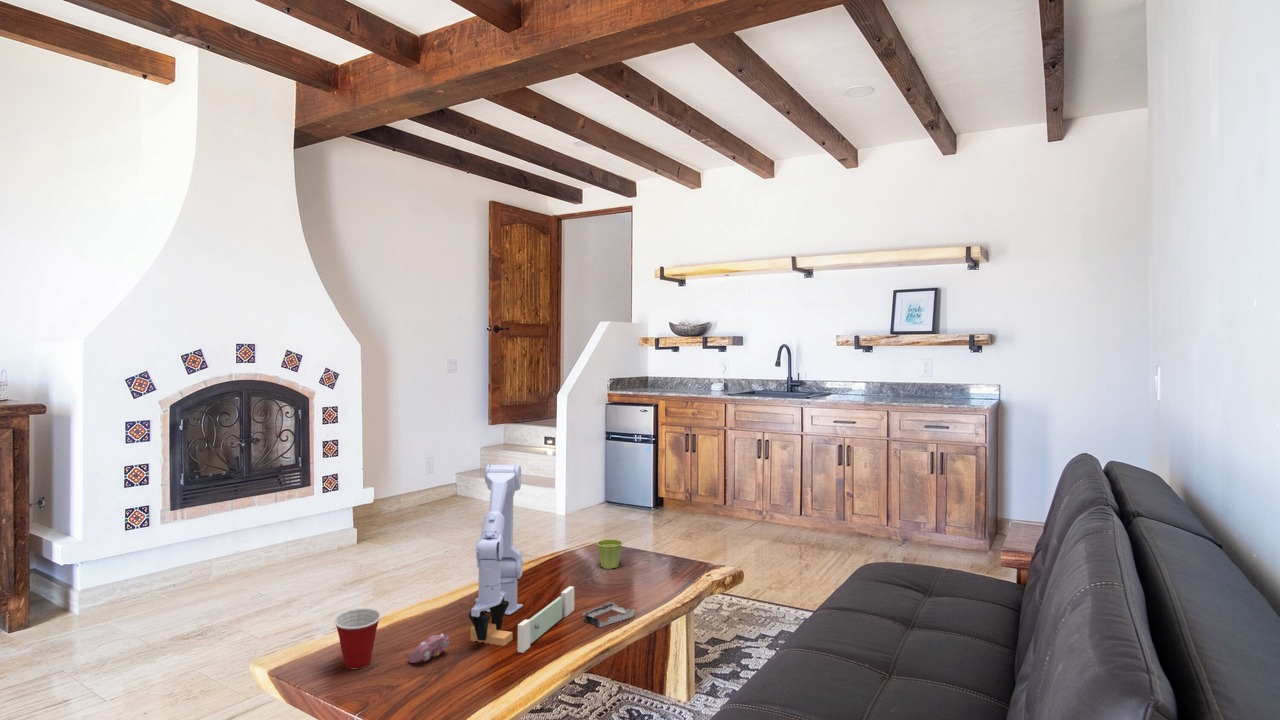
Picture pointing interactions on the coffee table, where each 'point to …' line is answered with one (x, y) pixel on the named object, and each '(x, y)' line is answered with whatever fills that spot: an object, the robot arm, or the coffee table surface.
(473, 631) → the stepped wooden block
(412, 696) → the coffee table surface
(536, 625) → the door
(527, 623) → the door frame
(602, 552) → the plant pot
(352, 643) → the plastic cup
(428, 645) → the pink elongated piece
